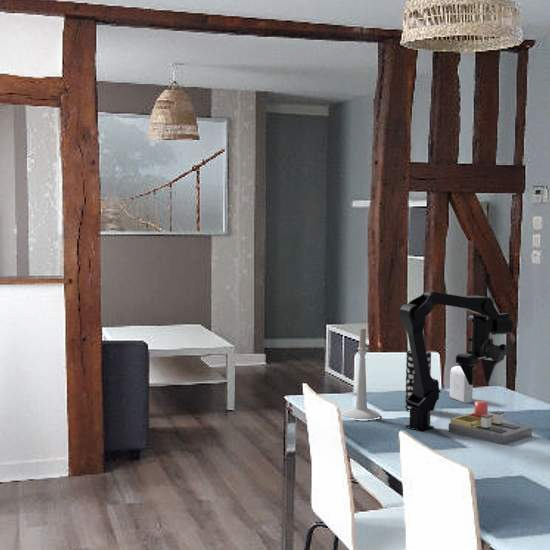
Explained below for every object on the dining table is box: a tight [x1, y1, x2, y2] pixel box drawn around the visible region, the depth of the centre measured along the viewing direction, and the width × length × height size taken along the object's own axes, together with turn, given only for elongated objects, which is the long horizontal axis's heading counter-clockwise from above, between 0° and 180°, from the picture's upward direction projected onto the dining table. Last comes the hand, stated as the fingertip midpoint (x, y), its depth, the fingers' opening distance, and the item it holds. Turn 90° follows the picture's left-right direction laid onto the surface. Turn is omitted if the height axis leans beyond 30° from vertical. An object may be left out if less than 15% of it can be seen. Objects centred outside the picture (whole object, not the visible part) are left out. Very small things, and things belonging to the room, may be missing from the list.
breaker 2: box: [492, 410, 505, 424], centre depth 259 cm, size 2×2×3 cm
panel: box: [448, 412, 533, 445], centre depth 257 cm, size 16×20×4 cm
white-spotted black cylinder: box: [404, 350, 432, 410], centre depth 287 cm, size 8×8×20 cm
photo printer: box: [449, 365, 474, 404], centre depth 304 cm, size 10×4×12 cm, turn 22°
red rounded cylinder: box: [474, 400, 489, 418], centre depth 263 cm, size 4×4×6 cm
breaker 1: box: [481, 414, 493, 428], centre depth 254 cm, size 2×2×3 cm
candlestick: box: [341, 327, 382, 419], centre depth 277 cm, size 13×13×30 cm
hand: (479, 383), depth 270 cm, fingers open, 9 cm apart
